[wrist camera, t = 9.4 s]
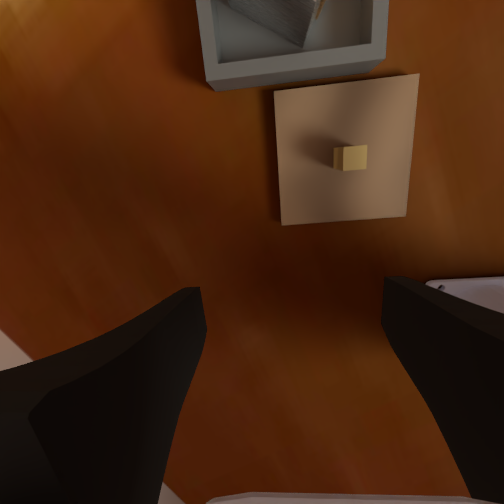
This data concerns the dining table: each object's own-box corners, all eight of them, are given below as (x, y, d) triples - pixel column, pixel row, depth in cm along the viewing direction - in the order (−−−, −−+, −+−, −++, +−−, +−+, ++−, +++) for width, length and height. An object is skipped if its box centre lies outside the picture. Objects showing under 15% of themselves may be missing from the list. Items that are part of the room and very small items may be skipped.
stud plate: (412, 77, 16) (446, 59, 13) (400, 213, 18) (425, 226, 15) (273, 93, 17) (274, 80, 14) (281, 222, 19) (283, 236, 16)
